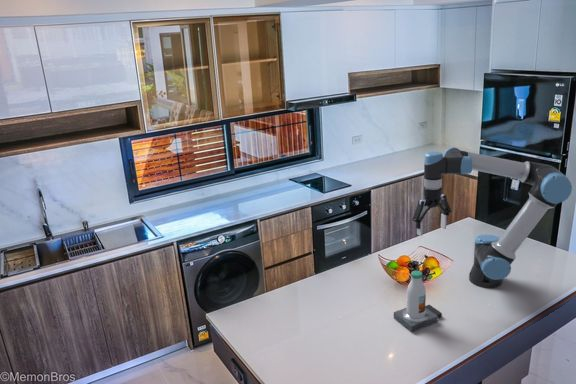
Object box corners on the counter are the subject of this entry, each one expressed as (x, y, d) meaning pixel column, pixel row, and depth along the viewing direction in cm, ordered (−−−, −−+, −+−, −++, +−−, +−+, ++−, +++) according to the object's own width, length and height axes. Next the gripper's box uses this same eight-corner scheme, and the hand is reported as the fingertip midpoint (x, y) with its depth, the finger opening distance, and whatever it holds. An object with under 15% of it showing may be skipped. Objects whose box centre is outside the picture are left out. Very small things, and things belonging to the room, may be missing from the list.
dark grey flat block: (426, 306, 217) (426, 300, 216) (445, 319, 206) (445, 313, 205) (393, 318, 210) (393, 312, 209) (411, 332, 199) (411, 326, 198)
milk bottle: (412, 320, 202) (413, 278, 195) (403, 311, 209) (403, 270, 202) (428, 316, 204) (430, 275, 197) (419, 307, 211) (420, 267, 204)
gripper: (448, 179, 218) (447, 222, 225) (404, 190, 208) (404, 235, 215) (460, 183, 211) (458, 227, 218) (415, 195, 202) (414, 240, 209)
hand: (431, 231), depth 217 cm, fingers open, 13 cm apart
